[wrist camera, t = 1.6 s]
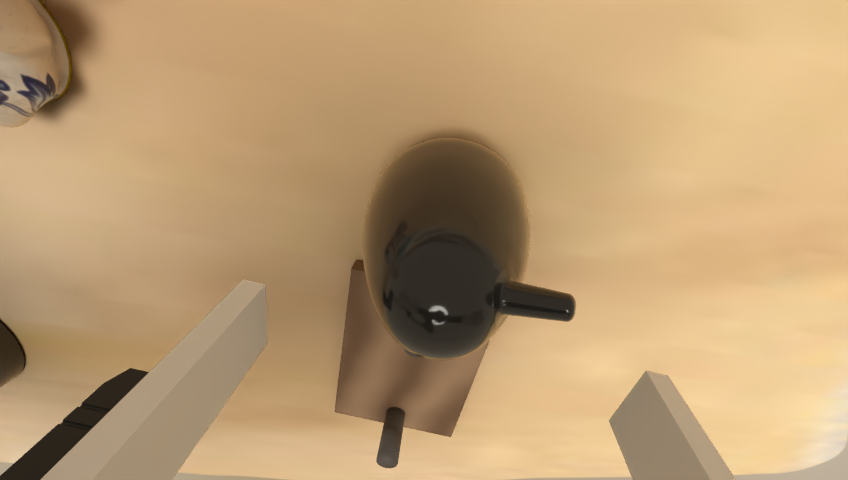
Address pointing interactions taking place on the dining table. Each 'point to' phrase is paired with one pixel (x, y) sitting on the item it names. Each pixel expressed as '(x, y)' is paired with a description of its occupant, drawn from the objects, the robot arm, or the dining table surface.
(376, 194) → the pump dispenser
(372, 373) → the holder
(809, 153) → the dining table surface
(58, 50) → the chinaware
